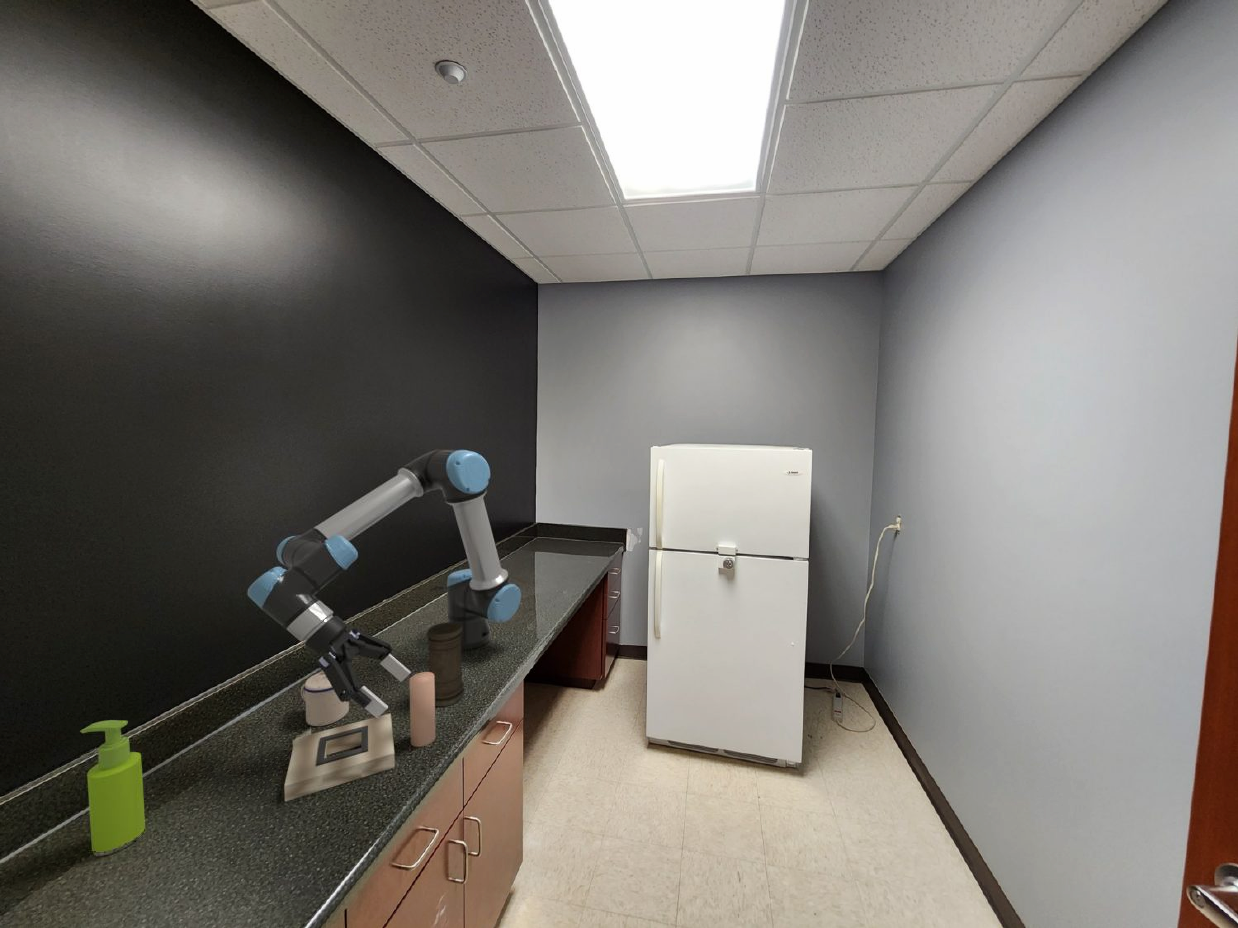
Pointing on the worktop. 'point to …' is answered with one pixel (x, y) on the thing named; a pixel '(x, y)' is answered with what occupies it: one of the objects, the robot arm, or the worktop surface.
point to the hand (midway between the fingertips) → (395, 693)
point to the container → (446, 662)
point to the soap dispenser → (115, 790)
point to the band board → (339, 756)
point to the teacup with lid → (322, 701)
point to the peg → (422, 709)
